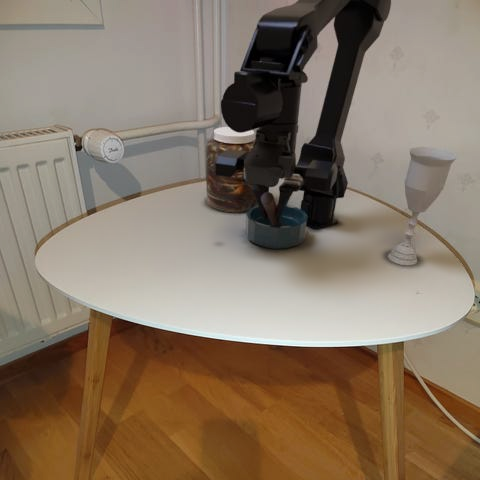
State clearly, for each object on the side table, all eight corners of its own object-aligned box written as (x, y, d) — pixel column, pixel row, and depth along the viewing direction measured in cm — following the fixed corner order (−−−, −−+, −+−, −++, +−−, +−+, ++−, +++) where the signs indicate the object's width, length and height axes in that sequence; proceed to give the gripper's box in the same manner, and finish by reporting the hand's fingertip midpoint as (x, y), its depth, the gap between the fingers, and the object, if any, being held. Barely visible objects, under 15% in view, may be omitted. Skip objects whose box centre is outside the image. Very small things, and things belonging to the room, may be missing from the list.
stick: (280, 221, 78) (268, 189, 65) (286, 228, 77) (276, 198, 65) (271, 227, 78) (258, 197, 65) (278, 235, 77) (265, 206, 65)
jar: (263, 196, 97) (267, 127, 88) (253, 215, 88) (256, 140, 79) (214, 191, 99) (214, 122, 90) (199, 209, 90) (197, 135, 81)
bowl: (281, 221, 86) (283, 199, 84) (316, 242, 79) (320, 219, 76) (235, 232, 81) (235, 210, 79) (267, 256, 74) (269, 232, 71)
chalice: (376, 249, 77) (402, 146, 66) (412, 248, 78) (442, 147, 67) (391, 268, 71) (421, 160, 61) (429, 268, 72) (466, 160, 61)
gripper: (196, 124, 58) (200, 229, 67) (331, 140, 53) (315, 251, 62) (227, 110, 66) (226, 205, 75) (345, 122, 61) (329, 223, 70)
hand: (271, 220), depth 71 cm, fingers closed on stick, 2 cm apart
